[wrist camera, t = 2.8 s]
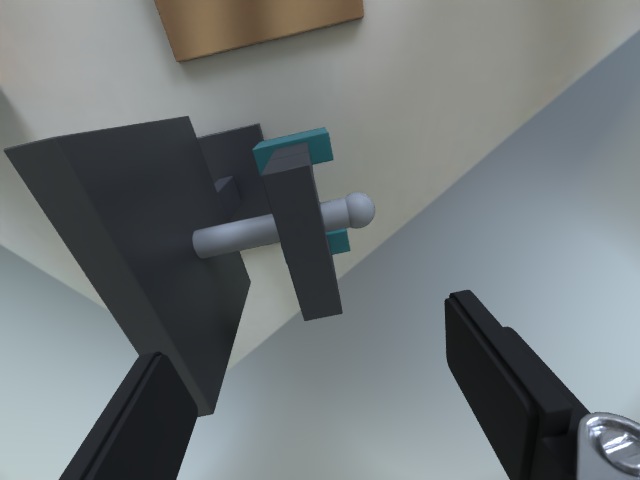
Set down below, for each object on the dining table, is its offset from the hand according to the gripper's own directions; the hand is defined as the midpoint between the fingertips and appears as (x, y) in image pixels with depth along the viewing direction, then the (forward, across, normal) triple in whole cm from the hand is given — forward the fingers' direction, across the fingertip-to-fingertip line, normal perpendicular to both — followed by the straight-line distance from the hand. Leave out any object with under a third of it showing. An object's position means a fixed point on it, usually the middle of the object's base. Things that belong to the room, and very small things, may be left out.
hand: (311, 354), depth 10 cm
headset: (+19, 0, 0) cm, 19 cm away
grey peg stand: (+26, +5, -1) cm, 27 cm away
